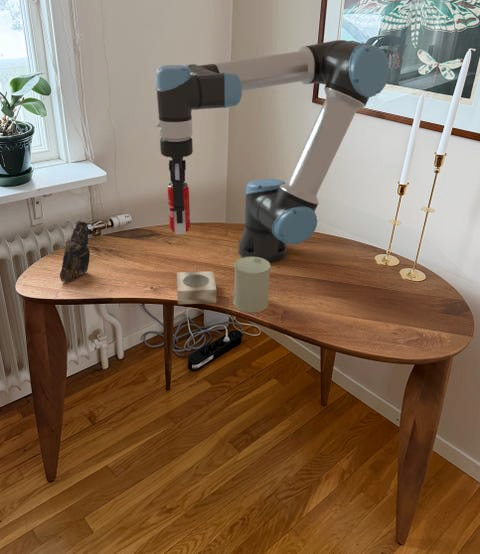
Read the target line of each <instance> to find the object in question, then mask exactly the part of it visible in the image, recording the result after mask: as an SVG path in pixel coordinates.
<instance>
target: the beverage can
mask: <svg viewBox="0 0 480 554" xmlns="http://www.w3.org/2000/svg"><path fill="white" fill-rule="evenodd" d="M167 186H168V187H166V188H167V189H166V190H167V203H168V204H167V205H168V219H169V228H170V230H171V232H173V233H174V234H175V226H174V211H171V208H173V207H174V204H173V185H172V182H170V183H168V184H167ZM183 192H184V207H185V224H186V233H187V232H190V231H189V230H190V228H191V216H190V215H191V209H190V208H191V207H190V188H189V184H188V183H187V182H183Z"/></svg>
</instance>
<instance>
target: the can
mask: <svg viewBox="0 0 480 554" xmlns="http://www.w3.org/2000/svg"><path fill="white" fill-rule="evenodd" d="M270 274H271V262H268V261H267V260H265V259H263V258H259V257H241V258H238V259H237V260H236V261H235V262H234V289H233V291H234V293H233V306H234V308H235V309H237V311H240V312H244V313H247V314H248V313H249V314H256V313H260V312H264V311H265V310H266V309H267V308H268V307H269V288H270V276H271V275H270Z"/></svg>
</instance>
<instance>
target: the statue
mask: <svg viewBox="0 0 480 554" xmlns="http://www.w3.org/2000/svg"><path fill="white" fill-rule="evenodd" d="M75 224H76V225H75V227H74V228H73V231H72V234H71V237H70V242H71V244H70V245H67V246H66V247H65V250H64V254H63V257H62V264H61V270H60V273H59V279H60V280H61V282H62V283H68V282H72V281H74V280H76V279H78V278H80V277H82V276H83V275H85V274H86V273H87V272H88V268H89V264H90V257H91V256H90V255H91V254H90V253H91V252H90V248H89V247H88V244H89V231H88V223H87V221H83V220H82V221H81V220H77V221H76V223H75Z"/></svg>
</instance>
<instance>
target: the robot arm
mask: <svg viewBox="0 0 480 554" xmlns="http://www.w3.org/2000/svg"><path fill="white" fill-rule="evenodd" d="M388 61H389V60H388V57H387V54H386V53H385V52H384V50H382V49H381V48H380V47H378V46H376V45H372V44H369V43H365V42H363V43H361V42H357V41H356V42H354V41H349V40H343V39H342V40H341V39H337V40H331V41H326V42H320V43H316V44H311V45H305V46H301V47H299V48H298V51H291V52H286V53H278V54H277V53H276V54H271V55H264V56H257V57H250V58H242V59H236V60H229V61H222V62H215V63H208V64H202V65H201V64H200V65H198V64H194V63H192V64H191V63H190V64H185V65H181V64H179V65H178V64H169V65H168V64H167V65H162V66H159V67H158V68H157V69H156V73H155V74H156V77H155V79H156V81H155V84H156V85H155V86H156V87H155V90H156V97H157V99H156V102H157V109H158V110H157V113H158V122H157V123H156V127H157V128H159V136H160V137H161V138H160V139H159V148H160V149H159V150H160V154H161V155H162V156H163V157H166V158H170V159H169V160H168V170H169V173H170V176H169V177H170V183H172V185H173V204H174V207H173V208H171V211H174V226H175V233H174V235H186V234H187V232H186V224H185V207H184V192H183V182H185V181H186V170H187V169H186V167H187V166H186V165H187V164H186V161H187V160H186V159H184V158H185V157H186V158H187V157H189V156H191V155H192V154H193V151H194V150H193V138H192V136H193V119H192V118H193V117H192V111H193V110H194V111H196V110H198V111H199V110H208V109H209V110H210V109H221V108H222V109H223V108H224V109H227V108H230V107H236V106H238V105H239V104H240V102H241V99H242V93H243V91H249V90H254V89H260V88H262V89H263V88H268V87H275V86H280V85H286V84H292V83H299V82H300V83H302V85H312V84H319V85H321V84H322V85H325V86H324V87H323V90H324V93H325V96H326V97H325V100H324V102H323V105H322V106H321V108H320V110H319V113H318V115H317V118H316V120H315V122H314V124H313V126H312V128H311V129H310V132H309V135H308V137H307V139H306V140H305V141H306V142H305V143H304V145H303V148H302V150H301V152H300V155H299V157H298V159H297V161H296V163H295V165H294V167H293V169H292V172H291V174H290V176H289V179H288V181H287V182H285V181H284V180H281V179H277V178H260V179H259V178H258V179H254V180H251V181H249V182H248V183H247V185H246V188H245V189H246V190H245V193H244V194H245V208H244V209H245V210H244V212H245V213H244V215H245V216H244V230H243V232H242V234H241V236H240V240H239V242H238V254H239V255H240V256H241V258H244V257H259V258H263V259H265V260H267V261H268V262H269V263H273V262H278V261H280V260H283V259H284V258H285V257H286V256H287V253H288V252H287V251H288V246H287V245H289V246H290V245H291V246H292V245H299V244H301V243H303V242H306V241H307V240H308V239H309V238H310V237H312V235H313V234H314V233H315V231H316V228H317V226H318V219H317V217H318V216H317V214H316V211H317V207H318V206H319V200H318V197H317V194H318V192H319V190H320V189H321V186H322V184H323V183H324V179H325V178H326V176H327V173H328V171H329V169H330V167H331V165H332V163H333V161H334V158H335V156H336V154H337V152H338V150H339V148H340V146H341V144H342V141H343V140H344V139H345V136H346V134H347V132H348V129H349V128H350V125H351V123H352V121H353V119H354V117H355V115H356V112H357V111H359V110H361V109H363V108H365V107H366V105H367V103H368V101H369V99H370V98H372V97H375V96H377V95H378V94H380V93H382V91H383V90H384V88H386V85H387V83H388V80H389V77H390V64H389V62H388ZM185 183H186V182H185Z"/></svg>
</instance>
